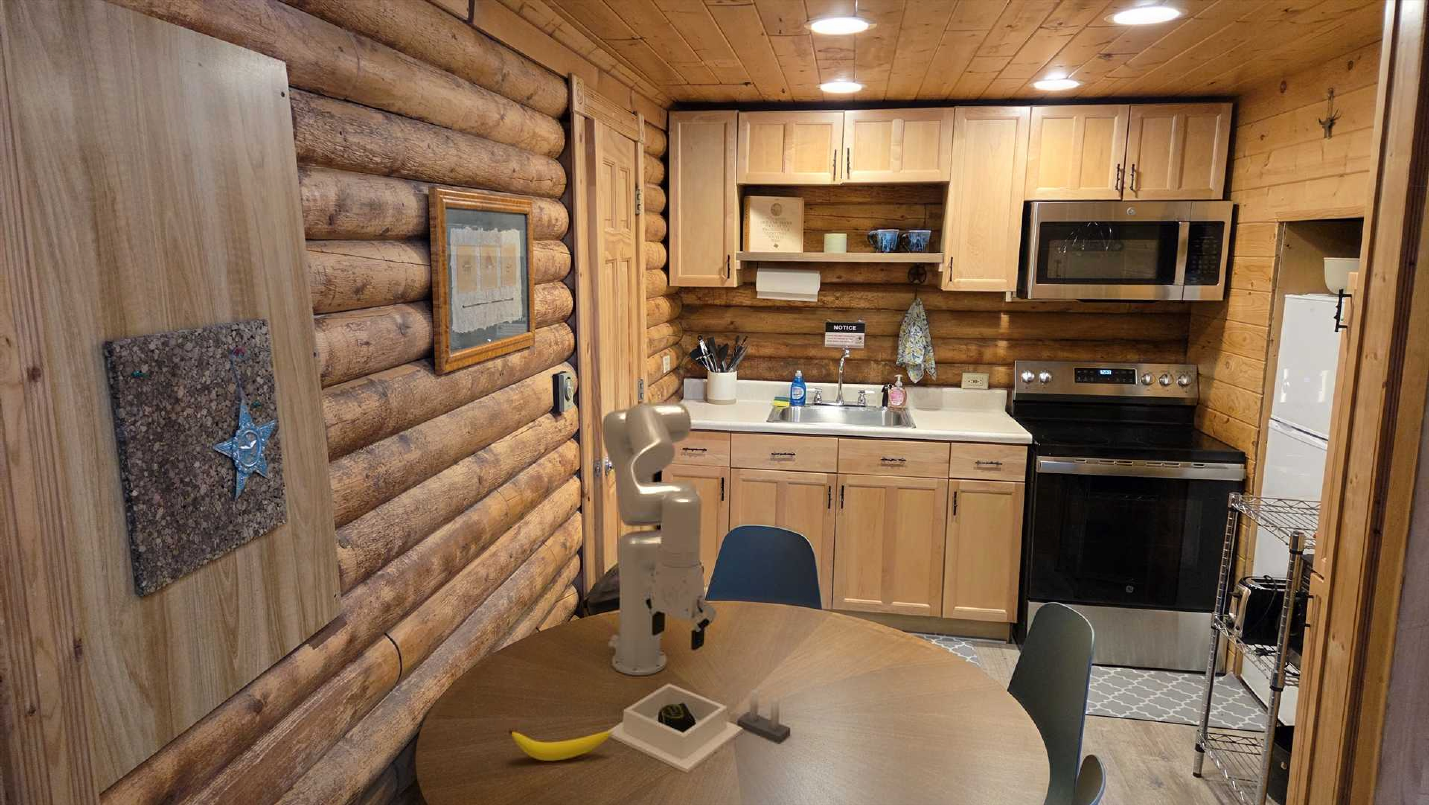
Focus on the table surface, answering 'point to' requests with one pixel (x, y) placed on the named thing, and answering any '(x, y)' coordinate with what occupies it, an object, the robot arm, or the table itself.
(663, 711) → the tape measure
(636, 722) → the white square tray
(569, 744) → the banana
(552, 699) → the table surface
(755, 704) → the peg board plate
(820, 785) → the table surface
